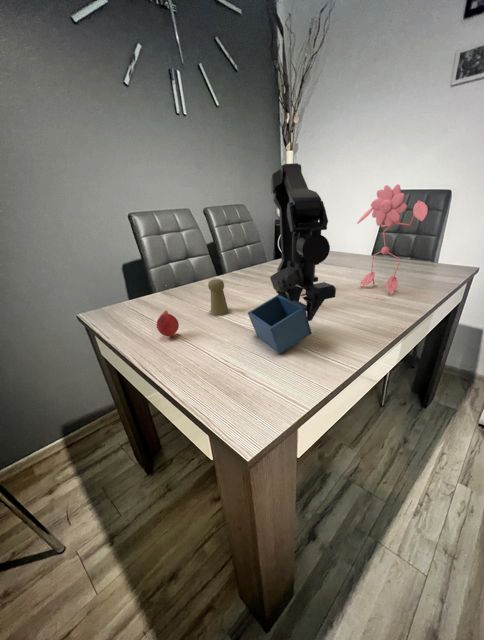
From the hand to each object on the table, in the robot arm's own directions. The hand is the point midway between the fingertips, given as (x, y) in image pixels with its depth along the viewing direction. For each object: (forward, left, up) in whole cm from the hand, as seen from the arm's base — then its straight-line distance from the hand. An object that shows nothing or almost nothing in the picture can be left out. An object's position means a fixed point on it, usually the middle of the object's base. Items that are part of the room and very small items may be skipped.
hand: (301, 316), depth 73 cm
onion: (+32, -20, -6) cm, 38 cm away
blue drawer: (+4, 0, -3) cm, 6 cm away
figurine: (-43, -14, -6) cm, 46 cm away
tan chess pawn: (+13, -30, -6) cm, 33 cm away
